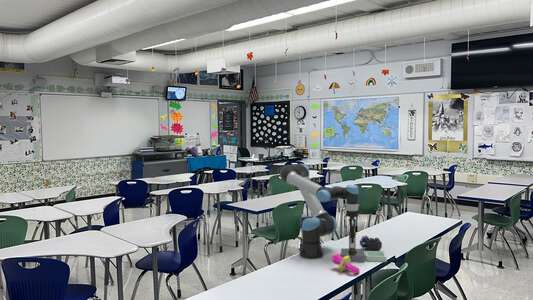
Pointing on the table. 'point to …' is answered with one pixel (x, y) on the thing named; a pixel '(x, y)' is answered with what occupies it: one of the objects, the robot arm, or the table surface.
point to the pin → (351, 250)
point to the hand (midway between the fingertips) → (352, 246)
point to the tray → (375, 256)
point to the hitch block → (354, 255)
